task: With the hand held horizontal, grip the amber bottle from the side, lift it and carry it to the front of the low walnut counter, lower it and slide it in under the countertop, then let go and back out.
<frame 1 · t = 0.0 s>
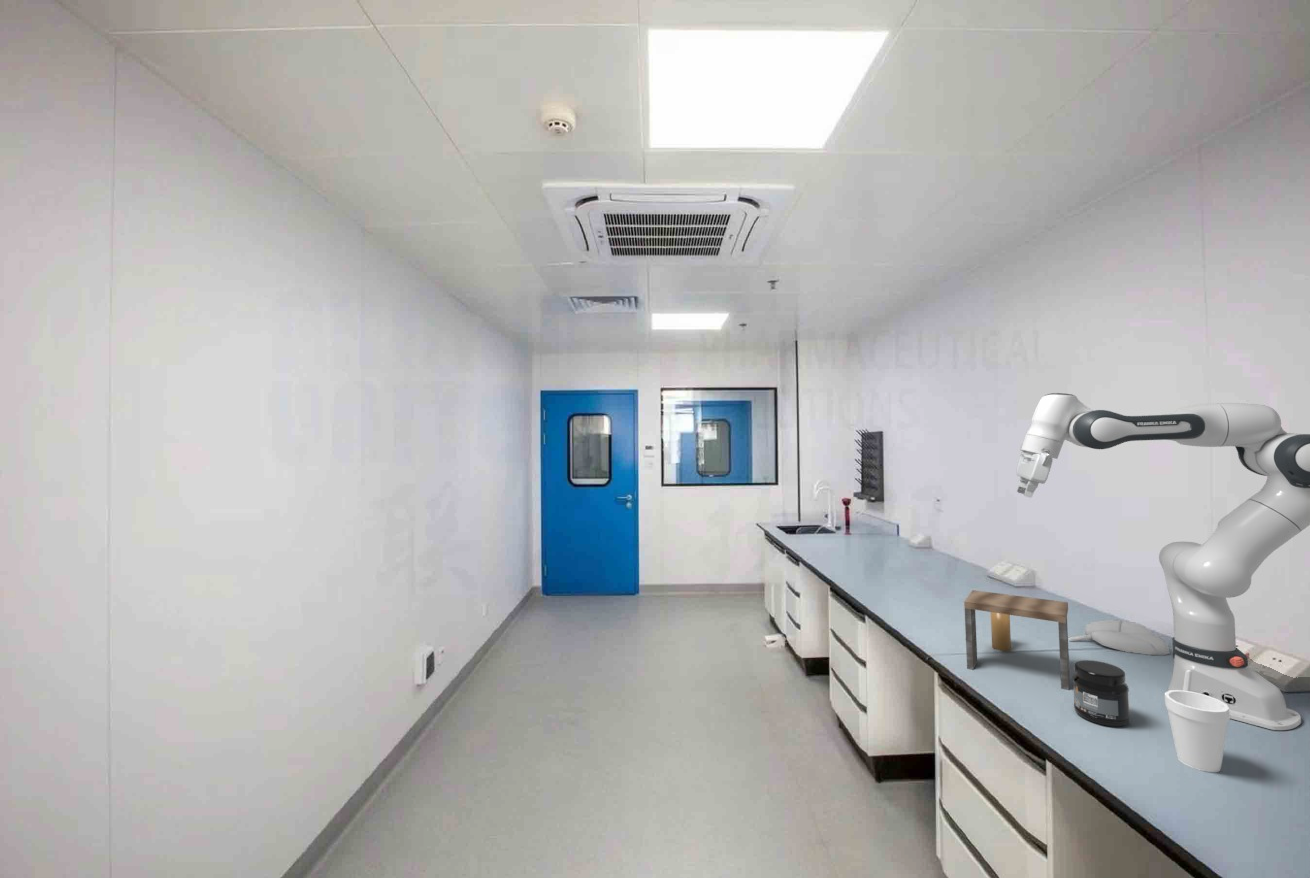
hand: (1023, 494, 152), 52 cm above the worktop, tool tilted 20°, fingers open, 8 cm apart
foam cup: (1198, 763, 111), on the worktop
amber bottle: (1001, 647, 173), on the worktop
supplement container: (1101, 717, 130), on the worktop
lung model: (1112, 645, 173), on the worktop
counter: (1018, 669, 157), on the worktop
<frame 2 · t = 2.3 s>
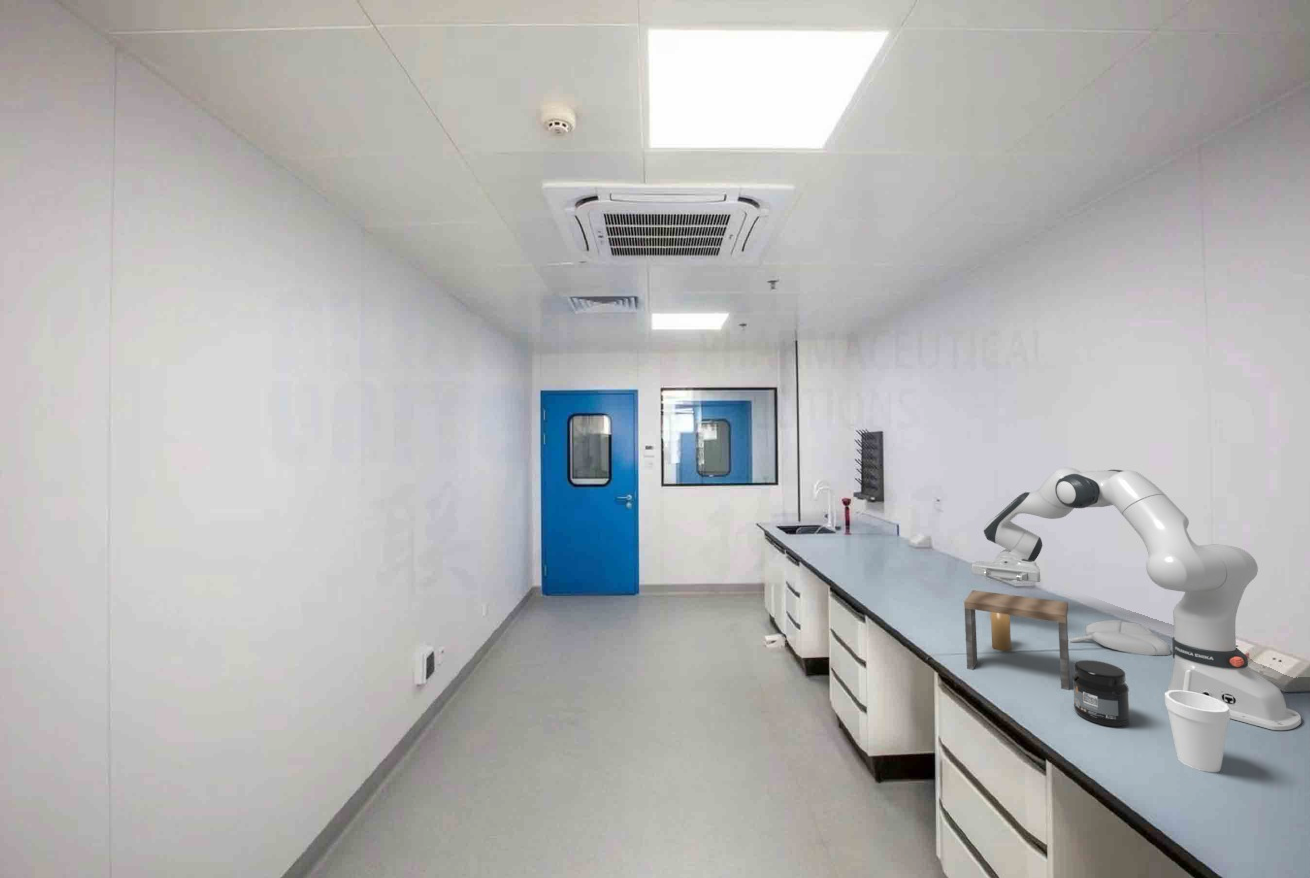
hand: (1002, 576, 182), 21 cm above the worktop, tool horizontal, fingers open, 8 cm apart
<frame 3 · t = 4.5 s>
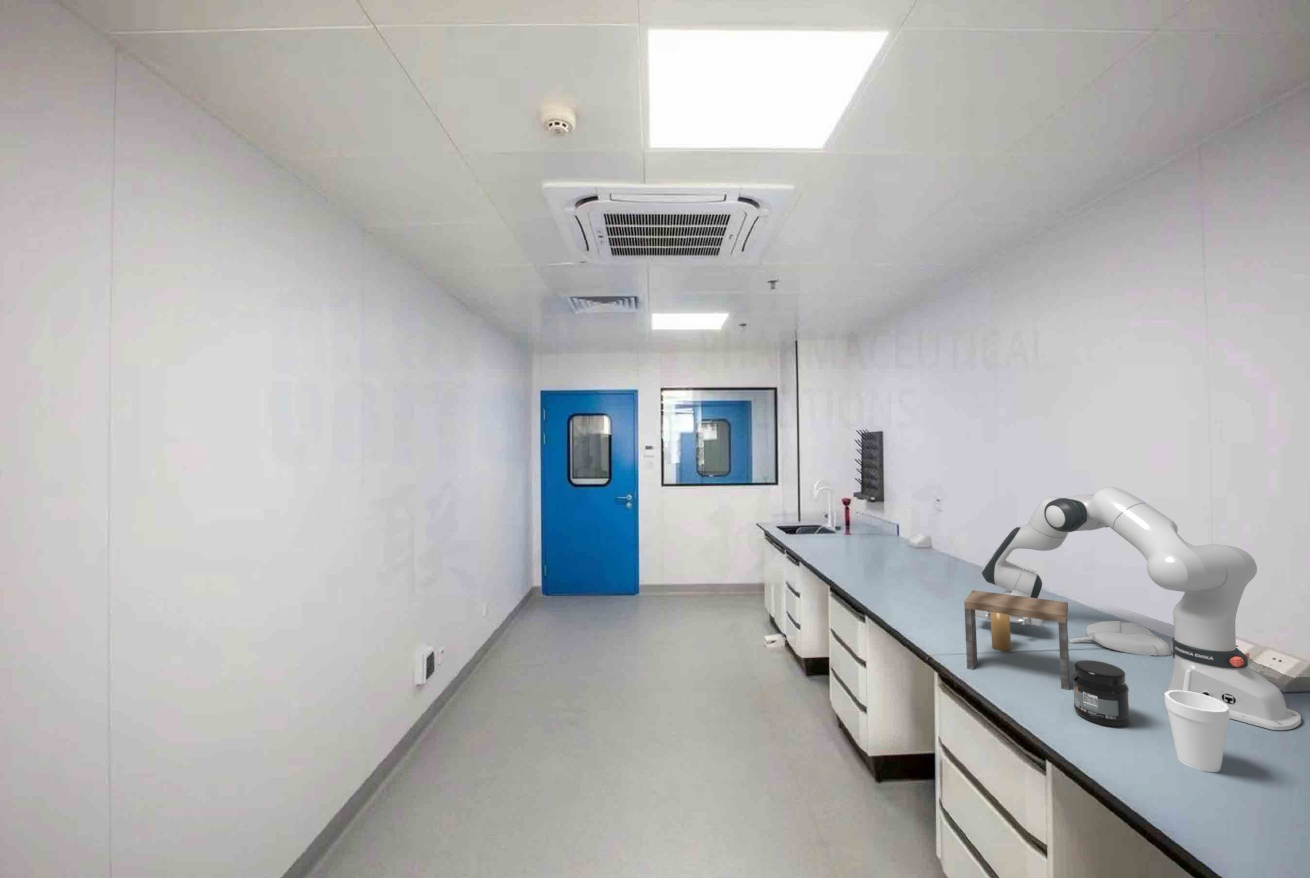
hand: (1004, 620, 179), 7 cm above the worktop, tool horizontal, fingers open, 8 cm apart
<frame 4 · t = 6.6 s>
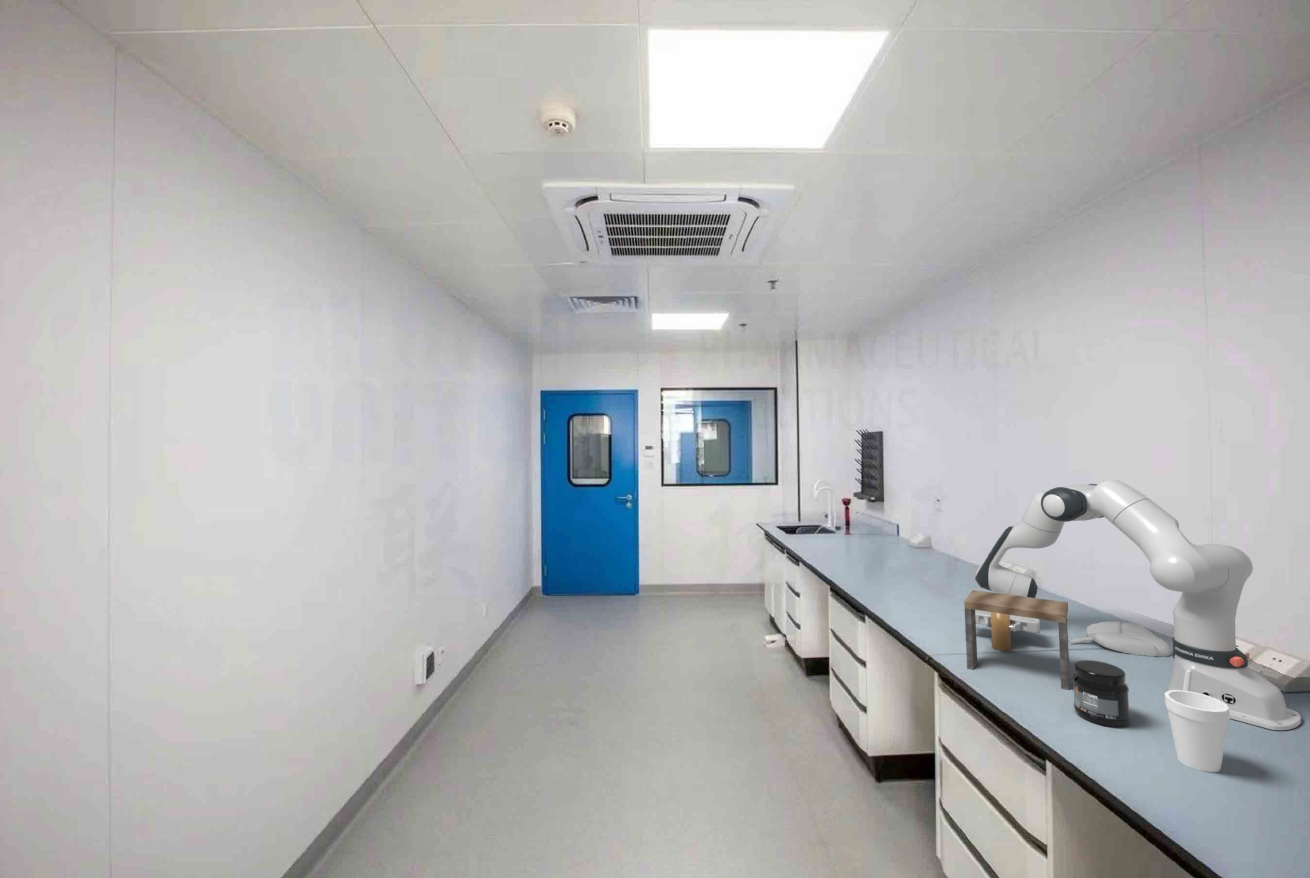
hand: (1000, 627, 173), 7 cm above the worktop, tool horizontal, fingers closed on amber bottle, 5 cm apart
amber bottle: (1001, 647, 173), on the worktop, touching gripper
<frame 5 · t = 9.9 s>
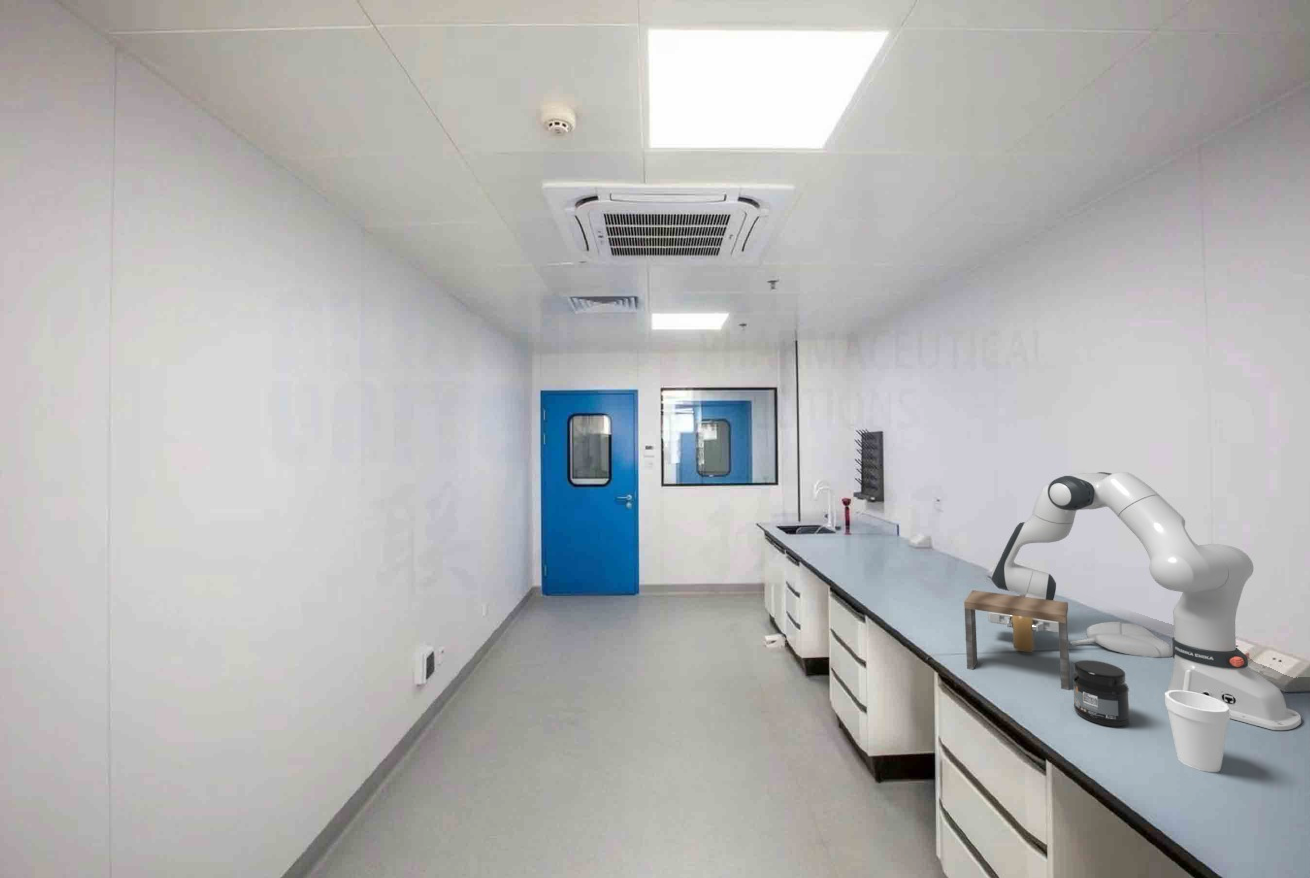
hand: (1022, 626, 168), 9 cm above the worktop, tool horizontal, fingers closed on amber bottle, 5 cm apart
amber bottle: (1023, 648, 169), point 1 cm above the worktop, touching gripper
when the fingers open (8 cm above the worktop, at t = 13.4 s): amber bottle drops 1 cm, on the worktop.
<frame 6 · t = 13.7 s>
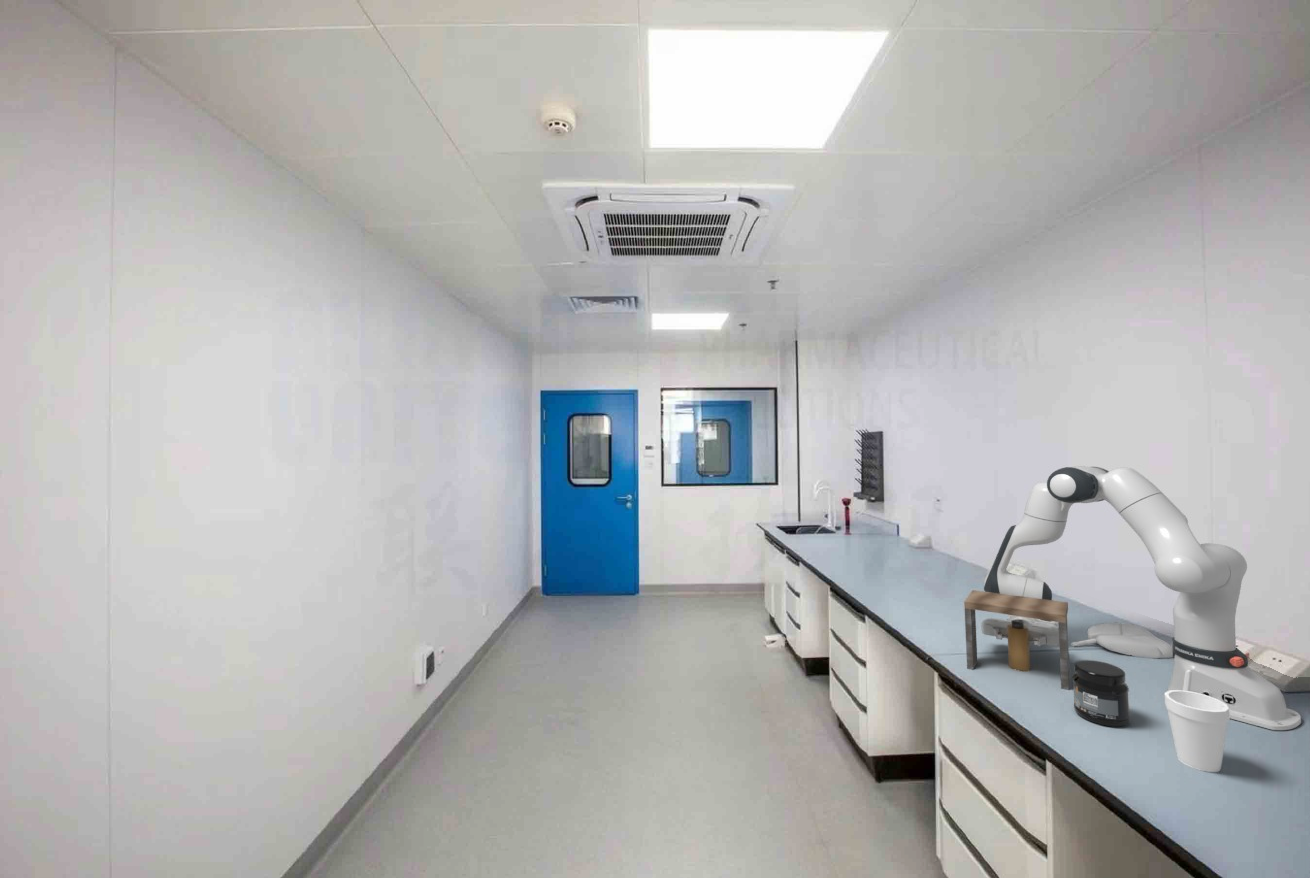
hand: (1017, 639, 158), 8 cm above the worktop, tool horizontal, fingers open, 8 cm apart
amber bottle: (1019, 667, 159), on the worktop
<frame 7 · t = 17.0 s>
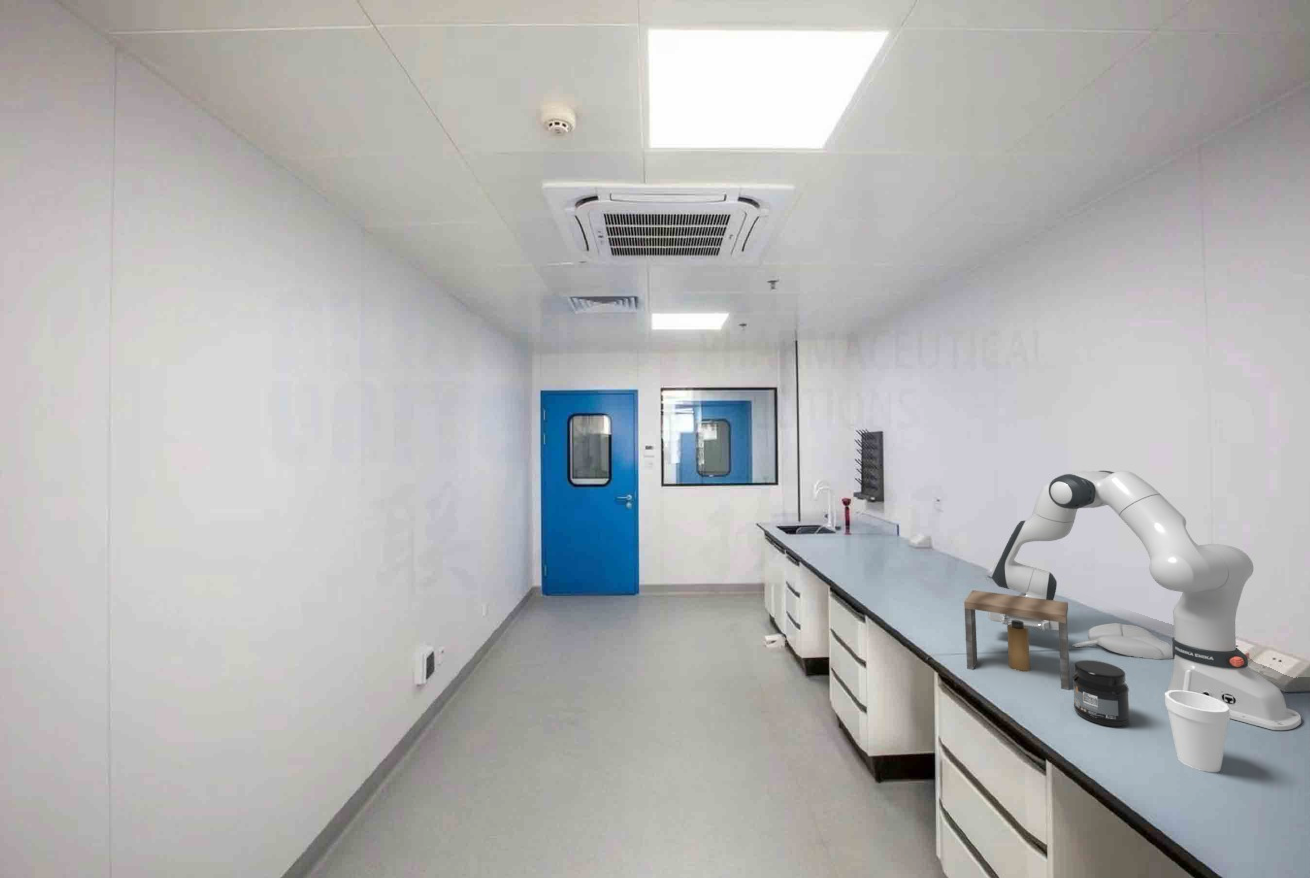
hand: (1022, 624, 168), 9 cm above the worktop, tool horizontal, fingers open, 8 cm apart
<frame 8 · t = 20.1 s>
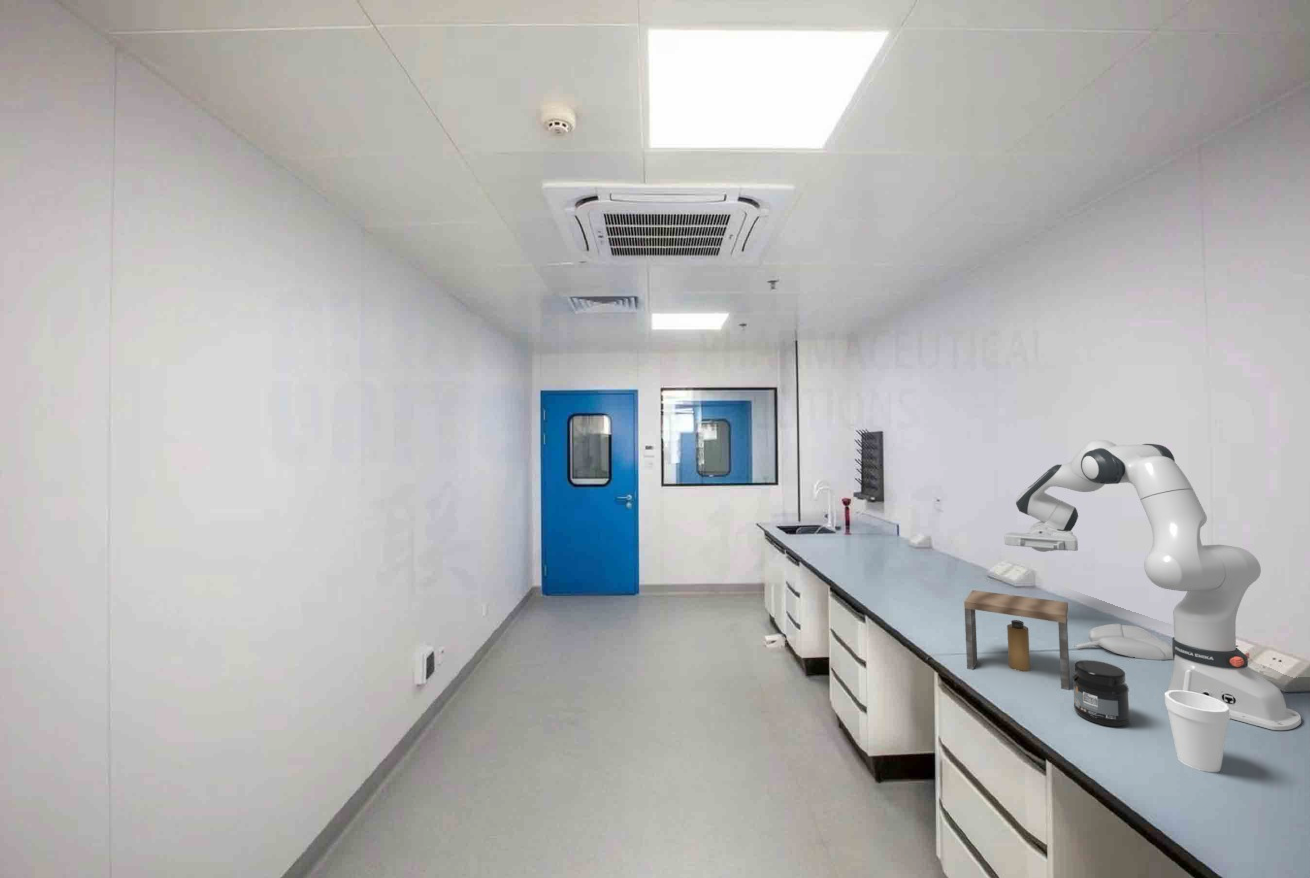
hand: (1038, 545, 177), 32 cm above the worktop, tool horizontal, fingers open, 8 cm apart
at the end: amber bottle 0.3 cm from the target spot, on the worktop; amber bottle tilted 0°; the gripper is holding nothing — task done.
